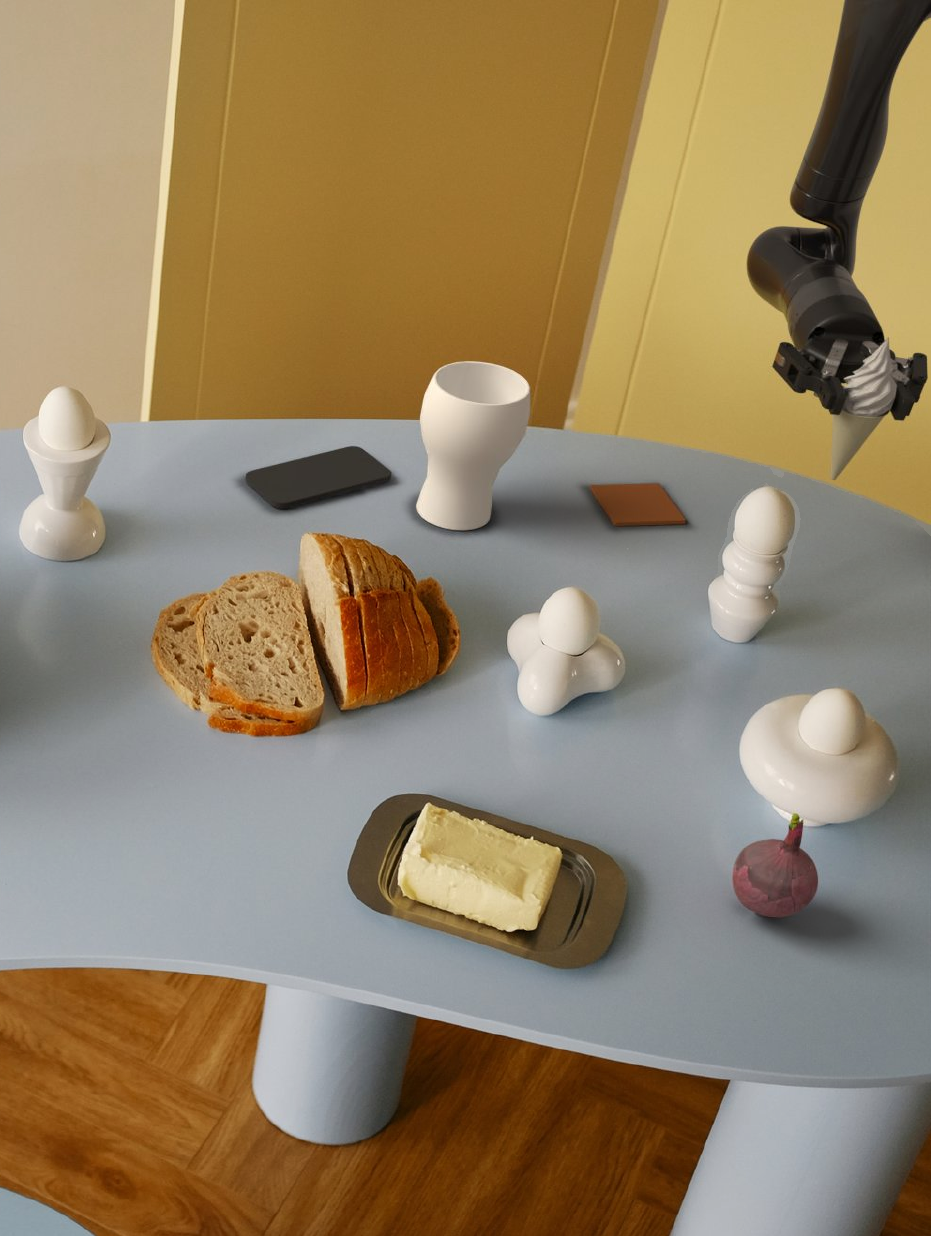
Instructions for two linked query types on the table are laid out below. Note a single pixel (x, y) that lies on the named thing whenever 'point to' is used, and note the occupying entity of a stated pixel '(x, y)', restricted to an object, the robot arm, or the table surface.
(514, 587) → the table surface
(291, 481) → the phone
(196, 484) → the table surface
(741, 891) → the vegetable
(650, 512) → the cork mat
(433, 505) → the cup
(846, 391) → the ice cream cone
